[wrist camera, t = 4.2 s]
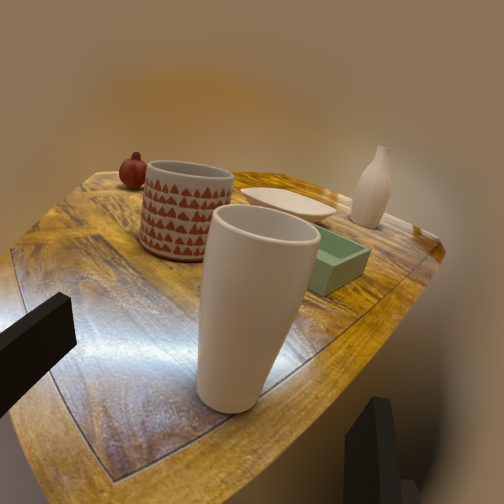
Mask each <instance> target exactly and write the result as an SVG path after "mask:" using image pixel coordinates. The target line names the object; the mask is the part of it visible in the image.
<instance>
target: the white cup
mask: <svg viewBox="0 0 504 504" xmlns="http://www.w3.org/2000/svg"><path fill="white" fill-rule="evenodd" d="M320 240H321V234H320V232H319V231H318V230H317V229H316V228H315V227H314V226H313V225H311V224H310V223H308V222H307V221H305V220H303V219H301V218H298V217H296V216H294V215H291V214H288V213H285V212H282V211H278V210H275V209H271V208H266V207H261V206H255V205H246V204H229V205H223V206H220V207H218V208H216V209H215V210H214V211H213V213H212V218H211V222H210V227H209V231H208V236H207V240H206V246H205V252H204V258H203V265H202V274H201V288H200V310H199V338H198V367H197V377H196V391H197V394H198V396H199V398H200V399H201V400H202V401H203V403H204V404H206V405H207V406H208V407H210V408H211V409H213V410H215V411H218V412H221V413H227V414H236V413H241V412H244V411H246V410H248V409H250V408H251V407H253V406H254V405H255V403H256V402H257V401H258V399H259V396H260V393H261V391H262V388H263V385H264V383H265V381H266V379H267V377H268V375H269V373H270V371H271V369H272V366H273V364H274V362H275V360H276V358H277V356H278V354H279V352H280V349H281V347H282V345H283V343H284V341H285V339H286V337H287V334H288V332H289V330H290V328H291V326H292V324H293V321H294V319H295V317H296V315H297V312H298V310H299V308H300V306H301V303H302V301H303V298H304V295H305V293H306V290H307V287H308V284H309V281H310V278H311V275H312V271H313V268H314V264H315V261H316V257H317V253H318V248H319V244H320Z"/></svg>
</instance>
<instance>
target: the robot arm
mask: <svg viewBox="0 0 504 504" xmlns="http://www.w3.org/2000/svg"><path fill="white" fill-rule="evenodd" d="M76 345H77V341H76V335H75V328H74V321H73V313H72V304H71V297H69V296H67V295H65V294H63V293H61V292H58V293H57V294H55V295H54V296H52V297H51V298H49V299H48V300H47V301H45V302H44V303H42V304H41V305H39V306H38V307H36V308H35V309H34V310H32V311H31V312H29V313H28V314H26V315H25V316H24V317H22V318H21V319H19V320H18V321H17V322H15V323H14V324H13V325H11V326H10V327H8V328H7V329H6V330H4V331H3V332H2V333H0V418H1V417H2V416H3V415H4V414H5V413H6V412H7V411H8V410H9V409H10V408H11V407H12V406H13V405H14V404H15V403H16V402H17V401H18V400H19V399H20V398H21V397H22V396H23V395H24V394H25V393H26V392H27V391H28V390H29V389H30V388H31V387H32V386H34V385H35V384H36V383H37V382H38V381H39V380H40V379H41V378H42V377H43V376H44V375H45V374H46V373H47V372H48V371H49V370H50V369H51V368H52V367H53V366H54V365H55V364H56V363H58V362H59V361H60V360H61V359H62V358H63V357H64V356H65V355H66V354H67V353H68V352H69V351H70V350H71V349H73V348H74V347H75V346H76ZM344 463H345V464H344V487H343V504H420V498H419V491H418V489H417V487H416V485H415V483H414V481H413V480H400V472H399V462H398V454H397V445H396V437H395V430H394V423H393V417H392V410H391V404H390V400H389V399H386V398H380V397H374V396H373V397H372V398H371V400H370V401H369V403H368V404H367V406H366V407H365V409H364V410H363V412H362V413H361V414H360V416H359V418H358V419H357V420H356V422H355V423H354V424H353V426H352V427H351V429H350V430H349V431H348V433H347V434H346V435H345V461H344Z"/></svg>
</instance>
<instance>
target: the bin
mask: <svg viewBox="0 0 504 504" xmlns="http://www.w3.org/2000/svg"><path fill="white" fill-rule="evenodd" d="M303 220H304V219H303ZM305 221H306V220H305ZM307 222H308V221H307ZM308 223H310V224H311V225H313V226H314V227H315V228H316V229H317V230H318V231H319V232H320V234H321V240H320V244H319V248H318V253H317V257H316V261H315V264H314V268H313V271H312V275H311V278H310V281H309V284H308V287H307V289H309V290H311V291H313V292H315V293H316V294H318V295H320V296H322V297H324V296H326V295H328V294H330V293H331V292H333V291H335V290H336V289H338V288H340V287H342V286H343V285H345V284H347V283H348V282H350V281H352V280H353V279H355V278H357V277H358V276H360V275H362V274H363V272H364V269H365V266H366V263H367V261H368V258H369V255H370V252H371V249H369V248H367V247H365V246H363V245H361V244H358V243H356V242H354V241H352V240H350V239H347V238H345V237H343V236H341V235H338V234H336V233H334V232H331V231H329V230H327V229H325V228H322V227H320V226H318V225H315V224H313V223H311V222H308Z"/></svg>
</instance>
